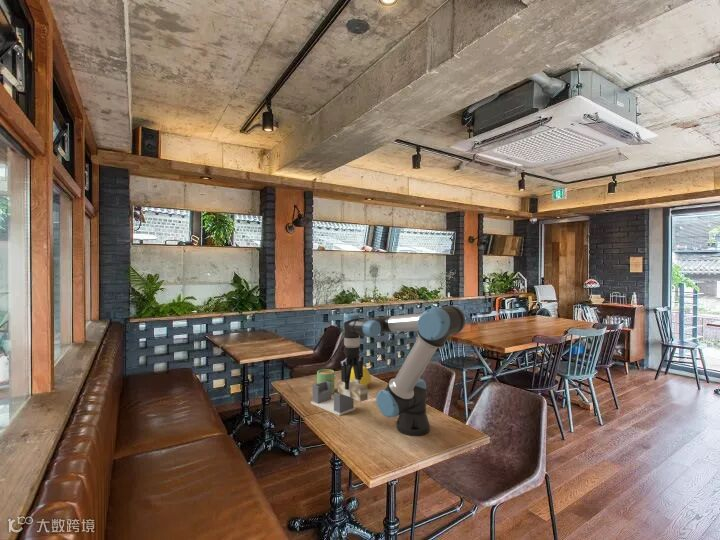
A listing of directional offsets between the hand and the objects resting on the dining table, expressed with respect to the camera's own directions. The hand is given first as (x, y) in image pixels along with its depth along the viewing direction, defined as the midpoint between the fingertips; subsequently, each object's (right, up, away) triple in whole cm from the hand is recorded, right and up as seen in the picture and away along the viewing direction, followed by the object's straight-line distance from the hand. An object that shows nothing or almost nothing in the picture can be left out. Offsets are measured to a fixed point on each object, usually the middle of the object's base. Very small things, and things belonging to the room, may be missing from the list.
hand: (352, 394), depth 181 cm
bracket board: (-11, -12, +18) cm, 25 cm away
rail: (0, -1, 0) cm, 1 cm away
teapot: (+1, -12, +53) cm, 54 cm away
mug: (-16, -12, +42) cm, 46 cm away
